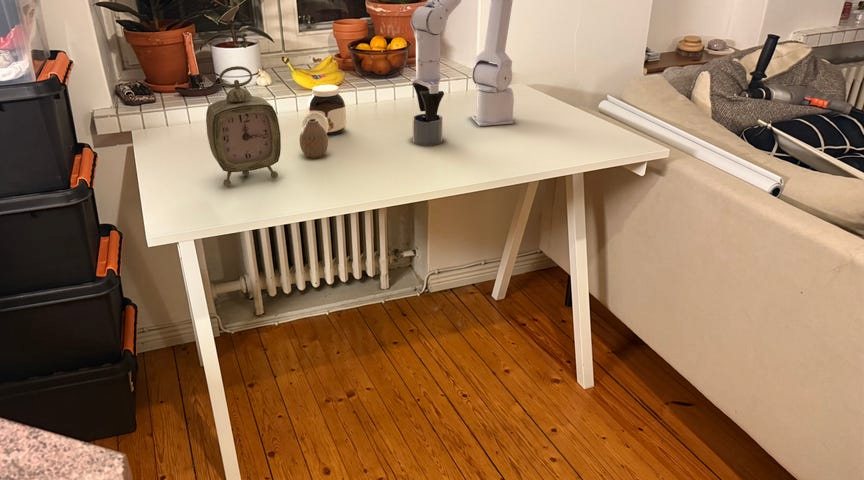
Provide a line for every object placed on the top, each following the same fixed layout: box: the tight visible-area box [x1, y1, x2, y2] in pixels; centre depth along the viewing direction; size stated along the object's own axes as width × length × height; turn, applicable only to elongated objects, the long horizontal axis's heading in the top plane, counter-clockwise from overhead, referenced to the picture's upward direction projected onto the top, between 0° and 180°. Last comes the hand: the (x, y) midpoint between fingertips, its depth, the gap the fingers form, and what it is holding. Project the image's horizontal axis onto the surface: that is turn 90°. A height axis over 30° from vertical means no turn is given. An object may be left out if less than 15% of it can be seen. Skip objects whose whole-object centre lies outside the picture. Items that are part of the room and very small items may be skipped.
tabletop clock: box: [205, 65, 282, 188], centre depth 152 cm, size 14×9×25 cm, turn 114°
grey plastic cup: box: [412, 113, 444, 147], centre depth 176 cm, size 7×7×6 cm
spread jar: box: [301, 84, 347, 137], centre depth 182 cm, size 12×11×12 cm
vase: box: [298, 119, 329, 159], centre depth 168 cm, size 7×7×9 cm
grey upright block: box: [423, 115, 432, 122], centre depth 176 cm, size 2×2×6 cm
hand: (427, 115), depth 175 cm, fingers open, 7 cm apart
